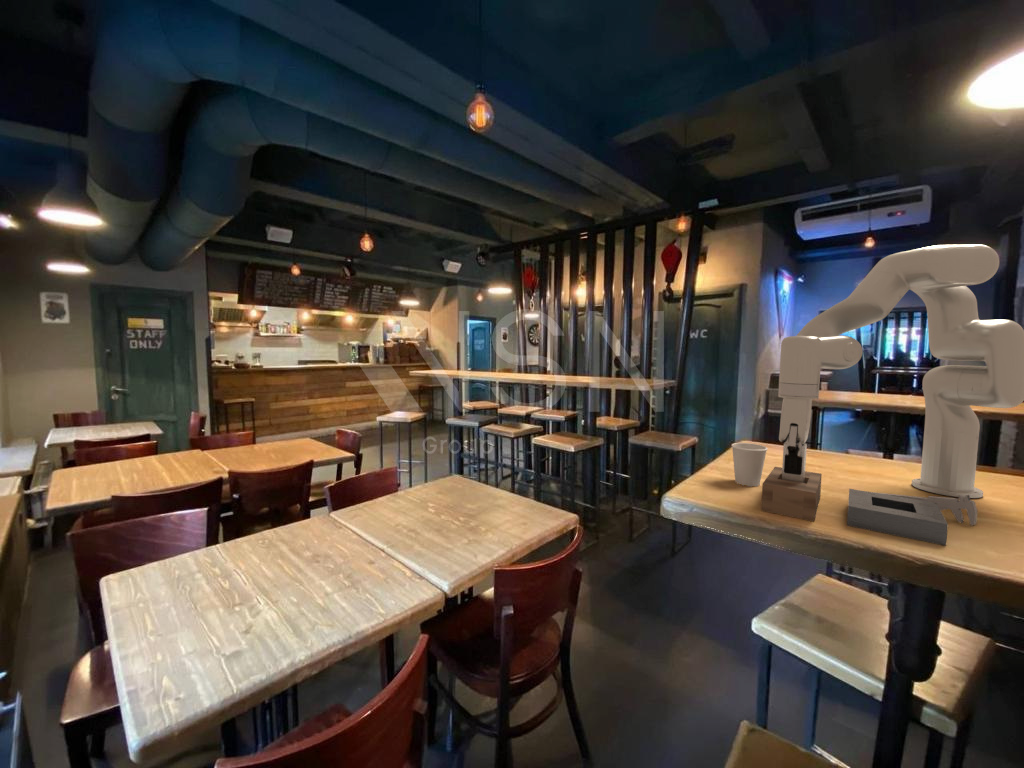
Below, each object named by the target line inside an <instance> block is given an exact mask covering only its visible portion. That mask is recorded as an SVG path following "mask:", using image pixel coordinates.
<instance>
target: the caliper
mask: <svg viewBox="0 0 1024 768" xmlns="http://www.w3.org/2000/svg"><path fill="white" fill-rule="evenodd" d="M872 492H873V493H877V492H874V491H872ZM878 493H879V494H885V495H891V496H897V497H903V498H910V499H916V500H922V501H928V502H934V503H937V505H938V507H939V508H940V510H941V511H945V510H950V511H951V513H952V514H953V516H954V517H955V519H956V521H957V523H959V522H961V524H963V522H965V521H964V515H963V510H965V511H966V513H967V516H968V520H969V521H968V522H969V525H970V526H975V525H977V521H978V508H977V505H976V502H975V500H972V499H971V498H970V496H969V495H966V496H965V498H964V496H963V495H962V494H958V497H955V498H954V497H944V496H932V495H929V496H928V497H926V496H925V497H923V496H913V495H907V494H905V495H904V494H897V493H896V494H895V493H885V492H878Z"/></svg>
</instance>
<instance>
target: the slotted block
mask: <svg viewBox="0 0 1024 768" xmlns="http://www.w3.org/2000/svg"><path fill="white" fill-rule="evenodd" d="M821 486H822V473H820V472H814V471H806V470H805V483H799V482H793V481H787V480H782V466H781V467H780V466H774V467H773V468H772V470H771V471H770V472H769V474H768V475H767V477H766V479H765V480H764V481H763V482H762V486H761V490H762V491H761V505H760V506H761V507H760V509H761V510H763V512H766V511H767V512H768V513H771V512H772V514H776V515H780V514H781V516H785V517H791V518H796V519H800V520H804V521H810V522H815V519H816V515H817V511H818V508H819V505H818V504H820V500H821V492H822V491H821V489H822V487H821ZM761 510H760V511H761Z"/></svg>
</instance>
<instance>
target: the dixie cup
mask: <svg viewBox="0 0 1024 768" xmlns="http://www.w3.org/2000/svg"><path fill="white" fill-rule="evenodd" d="M731 448H732V449H731V450H732V457H733V458H732V460H733V469H734V481H735V483H736V482H737V483H736V484H738V483H739V484H738V485H740V484H742V485H741V486H744V485H747V486H746V487H752V486H755V487H759V486H760V485H761V479H762V475H763V469H764V466H765V461H766V460H765V459H766V454H767V451H768V449H769V448H768V447H767V446H765V445H762V444H757V443H751V442H735V443H732V444H731ZM758 485H759V486H758Z"/></svg>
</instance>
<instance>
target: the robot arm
mask: <svg viewBox="0 0 1024 768" xmlns="http://www.w3.org/2000/svg"><path fill="white" fill-rule="evenodd" d="M999 268H1000V257H999V254H998V253H997V251H996V250H995V249H994V248H992V247H990V246H988V245H985V244H937V245H931V246H925V247H924V246H923V247H921V248H916V249H915V248H914V249H911V250H906V251H900V252H895V253H893V254H889V255H887V256H885V257H883V258H881V259H880V260H879V261H878V262H877V263H876V264H875V265H874V267H872V269H871V270H870V271H869V272H868V273H867V275H866V276H865V277H864V278H862V279H863V280H862V281H861V282H860V283H859V284H858V285H857V286H856V287H855V289H854V290H853V291H852V292H851V293H850V294H849V295H848V296H847V298H844V299H843V300H841V301H839V302H837V303H836V304H834V305H832V306H831V307H829V308H828V309H826V310H825V311H822V312H820V313H819V314H817V315H816V316H814V317H813V318H812V319H811V320H810V321H808V322H807V323H806V324H805V325H804V326H803V328H801V330H800V331H799V332H798V333H797V334H796V335H793V336H785V338H783V339H782V340H781V343H780V344H781V345H780V359H779V360H780V361H779V377H778V391H777V392H778V395H777V396H778V398H782V404H781V410H780V411H781V412H780V420H779V421H780V422H779V432H778V440H779V442H781V443H782V442H783V441H785V442H786V441H787V442H786V443H787V444H786V455H785V461H784V472H785V473H789V474H795V475H801V471H802V457H801V447H802V444H803V443H805V444H806V442H807V440H808V438H809V434H810V428H811V427H810V426H811V421H812V420H811V419H812V407H813V406H812V404H813V400H819V398H820V396H819V395H820V382H821V381H820V380H821V369H825V370H826V369H827V370H845V369H849V368H852V367H853V366H855V365H856V364H858V363H859V361H860V360H861V359H862V355H863V346H862V345H861V343H860V342H859V341H858V340H857V339H856V338H854V337H852V336H849V335H843V334H845V333H847V332H850V331H854V330H857V329H860V328H863V327H866V326H869V325H872V324H875V323H877V322H880V321H881V320H884V319H885V318H886V317H887V316H888V315H890V312H891V311H892V310H893V309H894V308H895V307H896V306H897V304H898V303H899V302H900V300H902V298H903V297H904V296H905V295H906V293H908V291H909V290H910V291H912V292H913V293H914V294H916V295H917V296H918V297H919V298H920V299H921V300H922V301H923V304H925V305H924V306H925V307H926V313H927V314H926V315H927V333H928V335H927V336H928V347H929V352H930V353H931V355H932V356H933V357H934V358H935V359H938V360H944V361H955V362H956V361H963V362H964V361H965V362H966V361H967V362H984V363H985V366H984V365H965V364H963V365H961V364H960V365H957V364H956V365H955V364H953V365H951V364H949V365H948V364H947V365H941V366H936V367H933V368H931V369H929V370H928V371H927V372H925V374H924V375H923V378H922V387H921V388H922V392H923V398H924V405H925V406H924V407H925V416H924V431H923V441H922V455H921V465H920V467H921V468H920V477H918V478H914V479H912V480H911V486H912V487H915V488H916V489H919V490H921V491H925V492H929V493H932V494H937V495H943V496H947V497H952V498H954V497H955V498H959V497H958V494H962V495H963V496H964V498H965V496H966V495H969V496H970V499H980V498H983V497H984V491H982V489H980V488H978V487H976V486H975V481H976V480H975V479H976V472H977V471H976V470H977V462H978V461H977V460H978V451H979V450H978V449H979V438H980V430H981V429H980V428H981V426H980V420H979V418H978V416H977V414H976V413H975V411H974V410H973V409H972V407H982V408H994V409H1011V408H1014V407H1017V406H1019V405H1021V404H1022V403H1023V402H1024V329H1023V327H1022V325H1020V324H1019V323H1018V322H1015V321H1014V320H1011V319H980V318H979V310H978V300H977V298H976V297H977V296H976V295H975V294H974V292H973V291H972V290H971V289H970V288H969V287H968V286H974V285H975V286H976V285H980V284H983V283H985V282H987V281H989V280H990V279H991V278H993V277H994V275H996V273H997V271H998V269H999ZM971 406H972V407H971ZM796 445H797V446H796Z"/></svg>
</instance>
